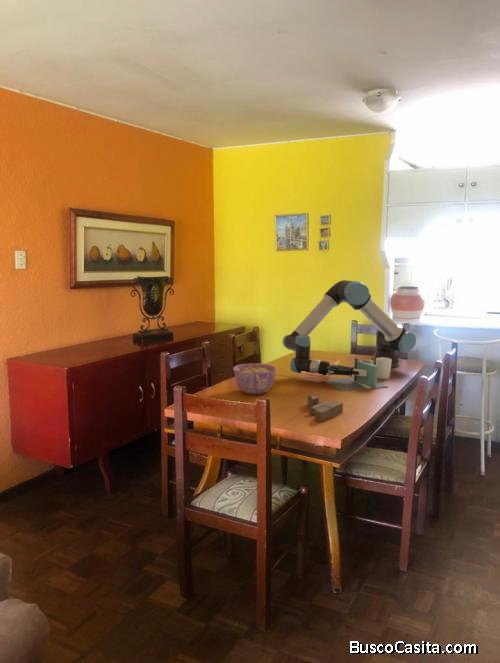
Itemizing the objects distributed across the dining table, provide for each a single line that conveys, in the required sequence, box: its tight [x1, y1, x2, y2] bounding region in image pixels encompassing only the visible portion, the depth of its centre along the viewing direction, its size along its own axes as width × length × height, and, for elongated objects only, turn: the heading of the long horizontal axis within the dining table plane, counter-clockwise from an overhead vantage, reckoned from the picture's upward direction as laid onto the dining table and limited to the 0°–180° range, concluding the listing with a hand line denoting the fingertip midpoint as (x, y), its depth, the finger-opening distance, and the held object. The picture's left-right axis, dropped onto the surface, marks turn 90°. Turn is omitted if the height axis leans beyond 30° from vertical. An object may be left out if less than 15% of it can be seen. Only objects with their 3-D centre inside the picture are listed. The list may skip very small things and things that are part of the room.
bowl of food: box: [232, 362, 277, 395], centre depth 241 cm, size 20×20×12 cm
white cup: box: [376, 357, 392, 380], centre depth 271 cm, size 8×8×10 cm
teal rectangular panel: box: [356, 360, 378, 387], centre depth 255 cm, size 13×2×10 cm, turn 30°
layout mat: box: [327, 377, 389, 392], centre depth 258 cm, size 25×20×1 cm
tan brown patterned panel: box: [353, 356, 375, 381], centre depth 263 cm, size 11×2×12 cm, turn 107°
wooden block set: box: [307, 394, 344, 423], centre depth 211 cm, size 17×6×18 cm
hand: (366, 373), depth 252 cm, fingers closed
